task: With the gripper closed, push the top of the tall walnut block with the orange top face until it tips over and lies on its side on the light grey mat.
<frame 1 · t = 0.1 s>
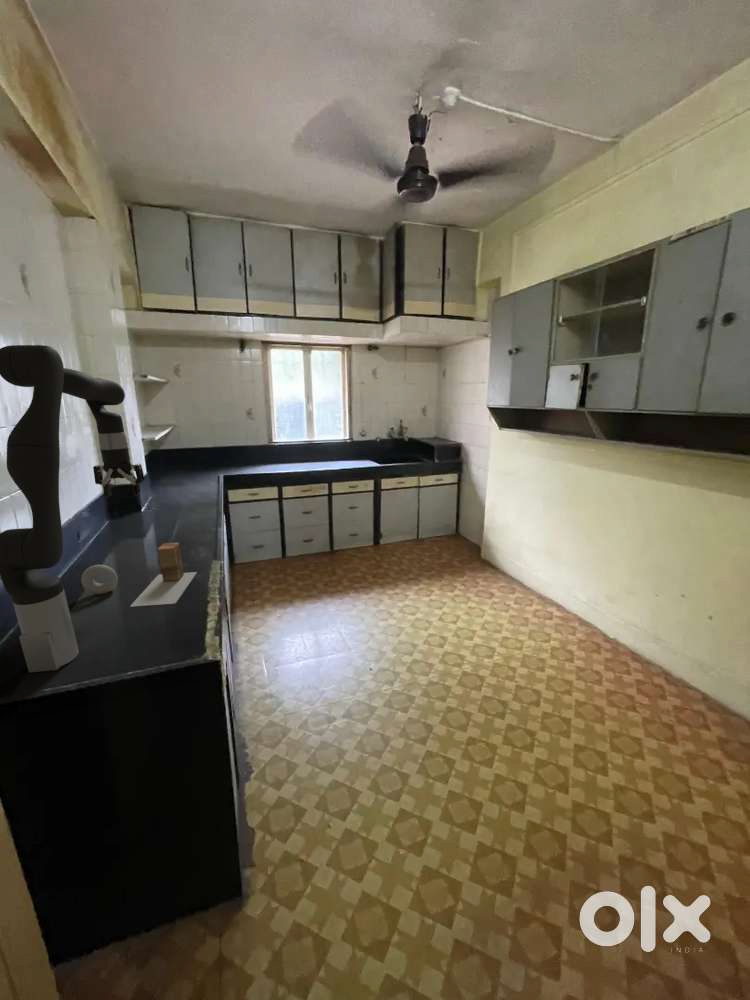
hand: (123, 495, 133), 29 cm above the countertop, tool pointing down, fingers open, 8 cm apart
donut: (102, 594, 130), on the countertop
grey mat: (166, 589, 132), on the countertop
walnut block: (173, 578, 138), resting on grey mat
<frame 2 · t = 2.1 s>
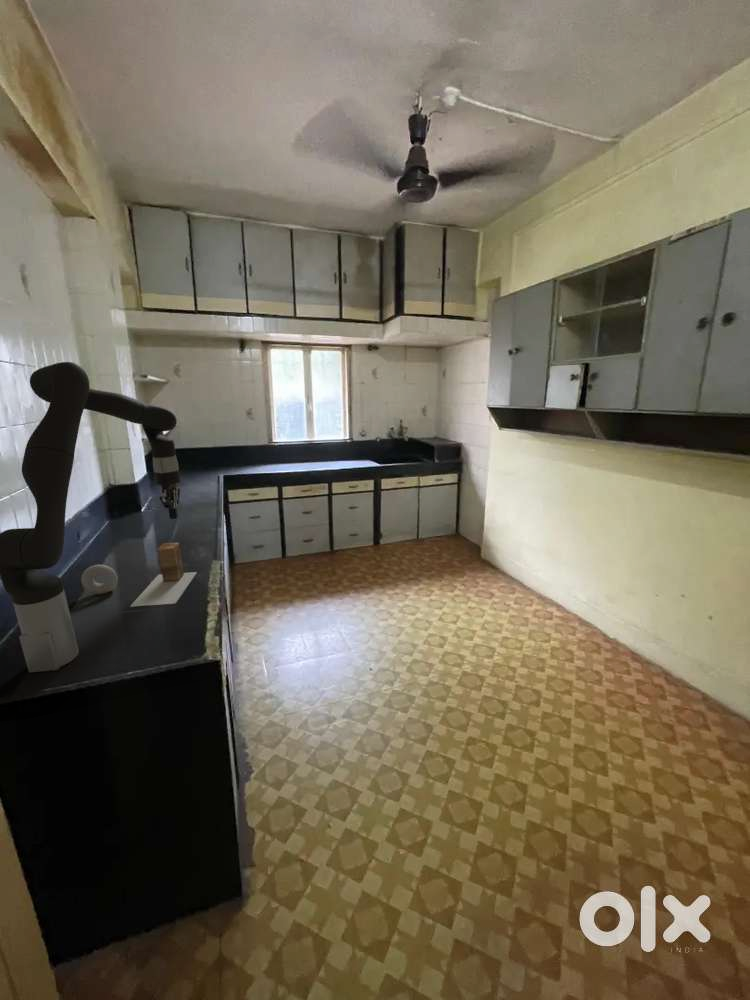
hand: (173, 518, 141), 20 cm above the countertop, tool pointing down, fingers closed
nothing on the countertop moved.
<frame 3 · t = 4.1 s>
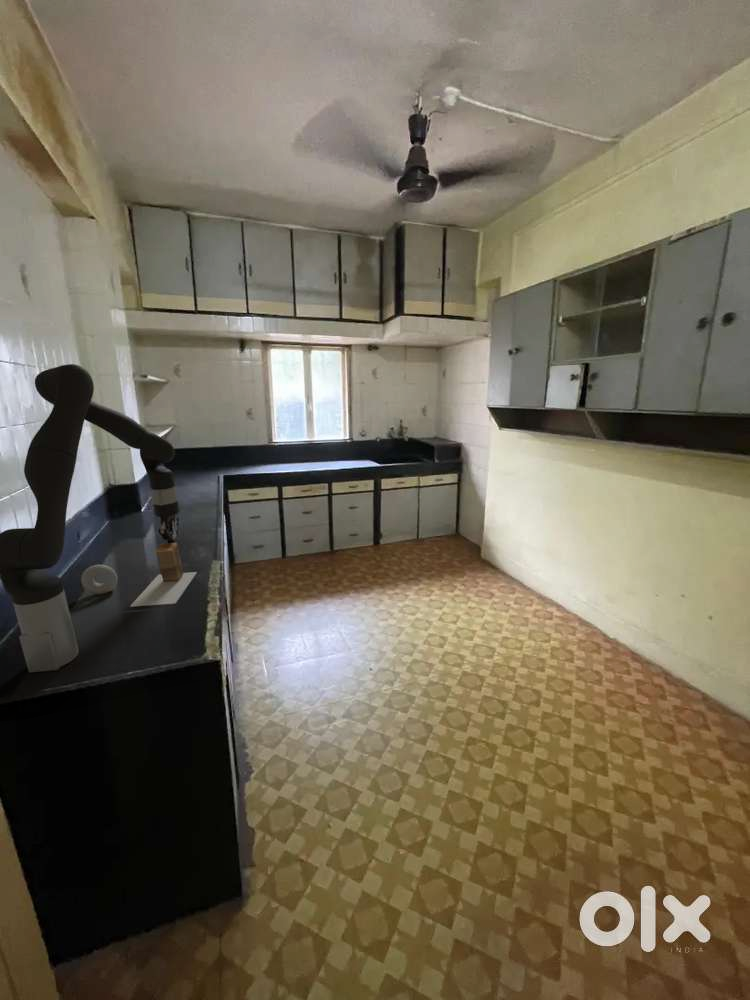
hand: (172, 549, 139), 10 cm above the countertop, tool pointing down, fingers closed
walnut block: (173, 577, 138), point 1 cm above the countertop, tilted 8°, touching grey mat
everything else where it was.
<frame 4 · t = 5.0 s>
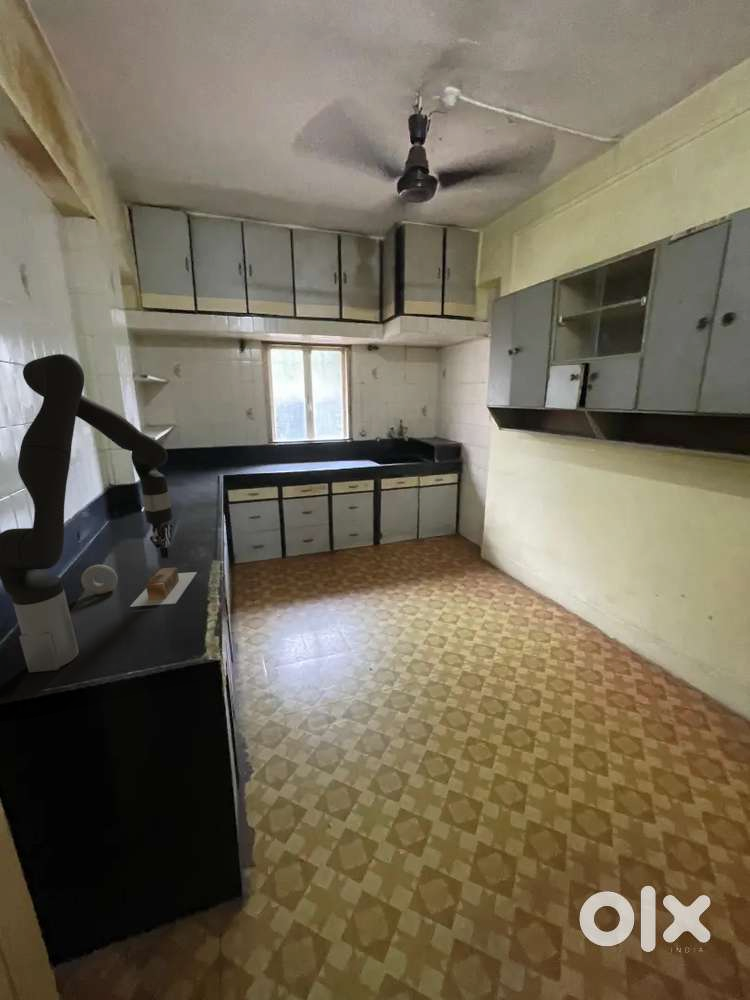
hand: (165, 557, 133), 10 cm above the countertop, tool pointing down, fingers closed
walnut block: (170, 574, 135), point 3 cm above the countertop, tilted 90°, touching grey mat
everything else where it was.
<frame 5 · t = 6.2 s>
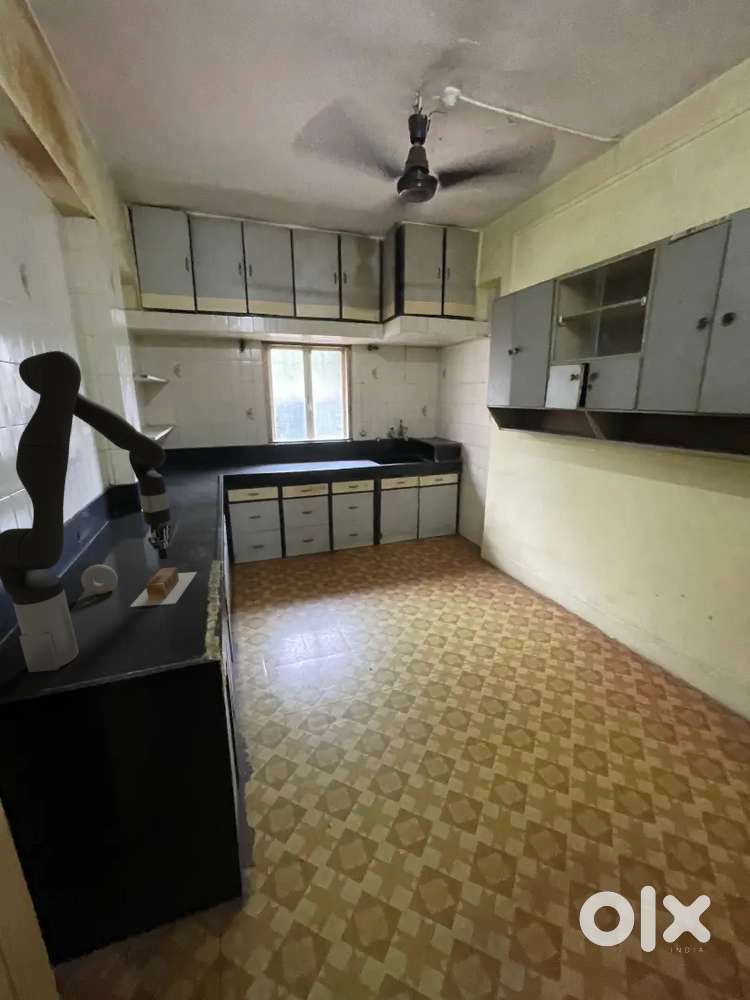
hand: (164, 558, 131), 10 cm above the countertop, tool pointing down, fingers closed
nothing on the countertop moved.
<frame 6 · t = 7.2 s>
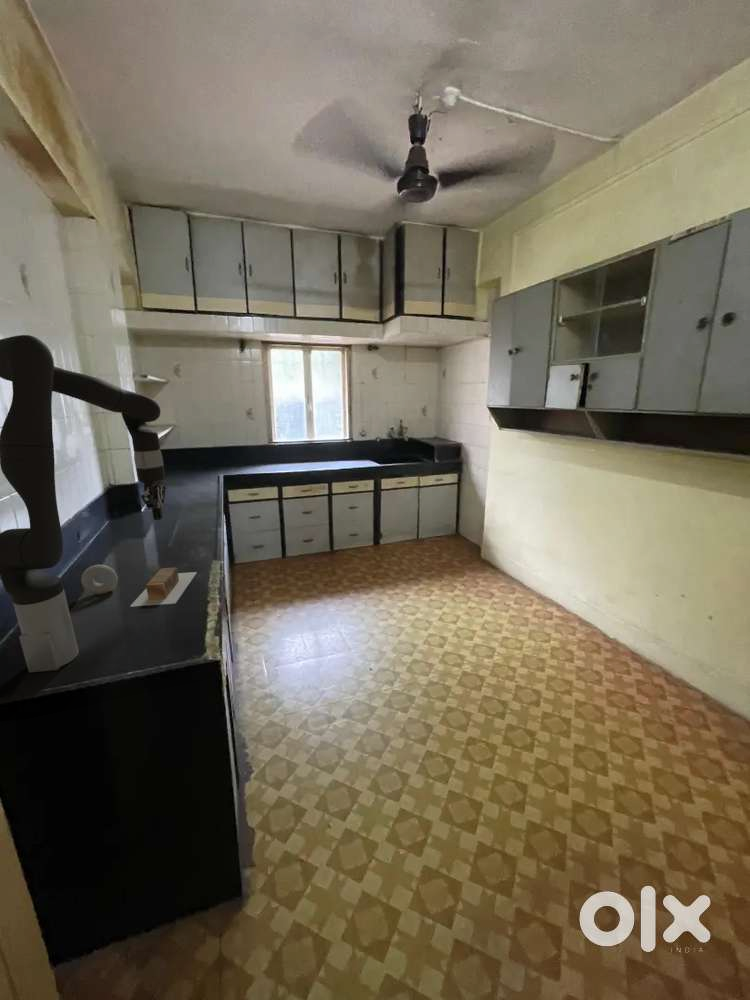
hand: (158, 519, 128), 23 cm above the countertop, tool pointing down, fingers closed
nothing on the countertop moved.
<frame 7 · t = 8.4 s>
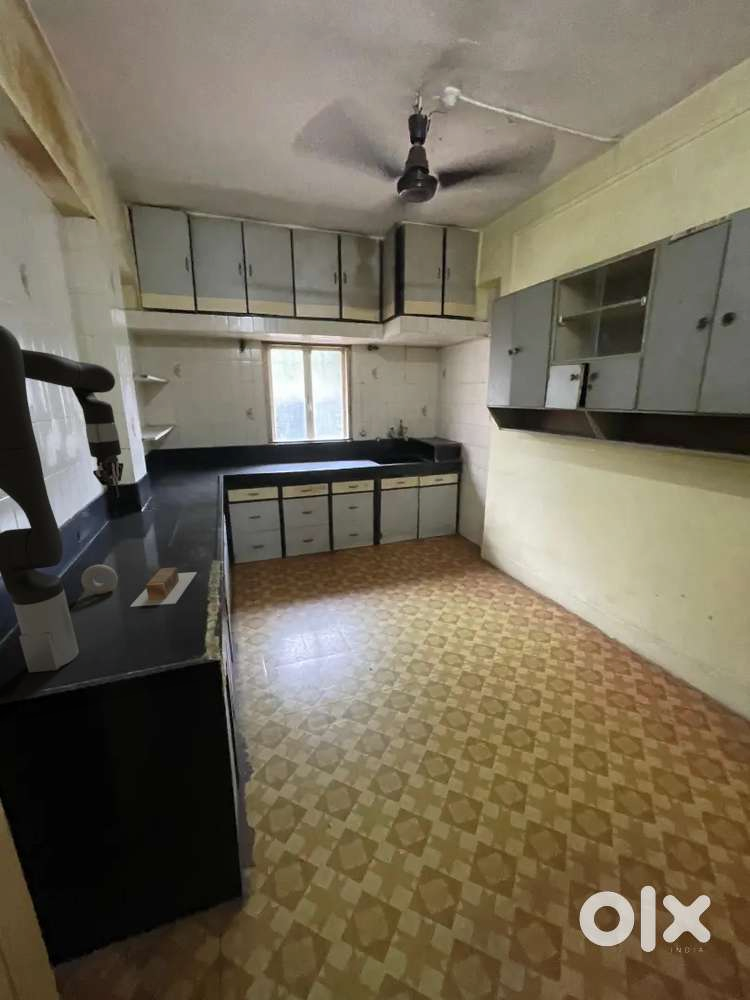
hand: (114, 497, 120), 32 cm above the countertop, tool pointing down, fingers closed
nothing on the countertop moved.
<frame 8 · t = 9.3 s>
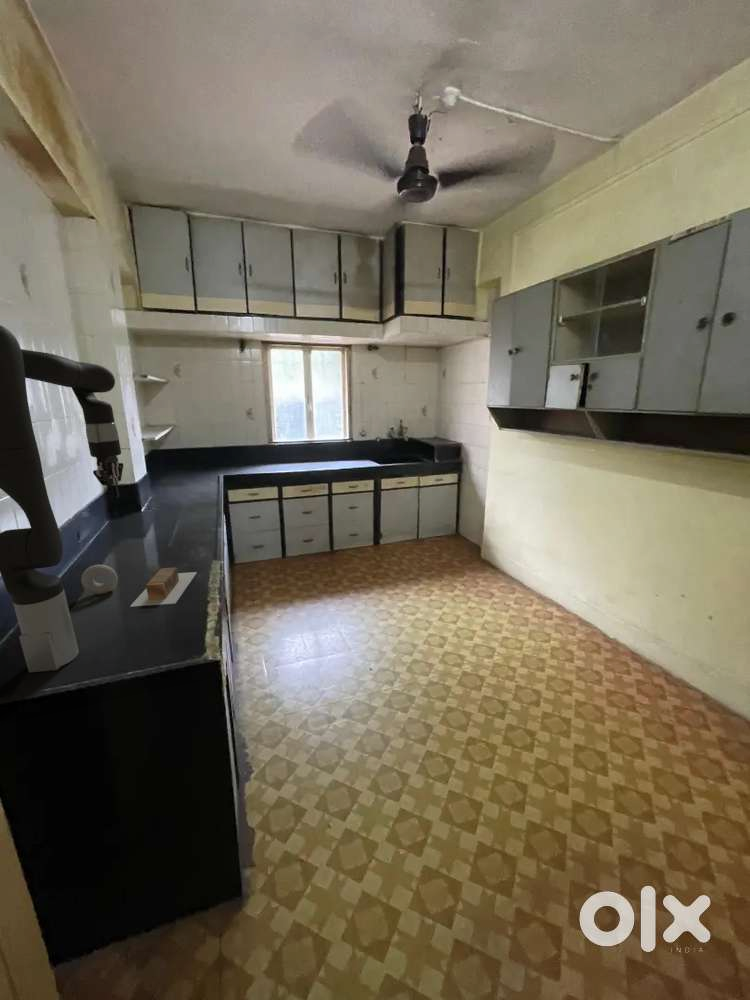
hand: (114, 497, 120), 32 cm above the countertop, tool pointing down, fingers closed
nothing on the countertop moved.
at the end: walnut block tilted 90°; walnut block inside the target area (3.5 cm from its centre), point 3.0 cm above the countertop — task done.
